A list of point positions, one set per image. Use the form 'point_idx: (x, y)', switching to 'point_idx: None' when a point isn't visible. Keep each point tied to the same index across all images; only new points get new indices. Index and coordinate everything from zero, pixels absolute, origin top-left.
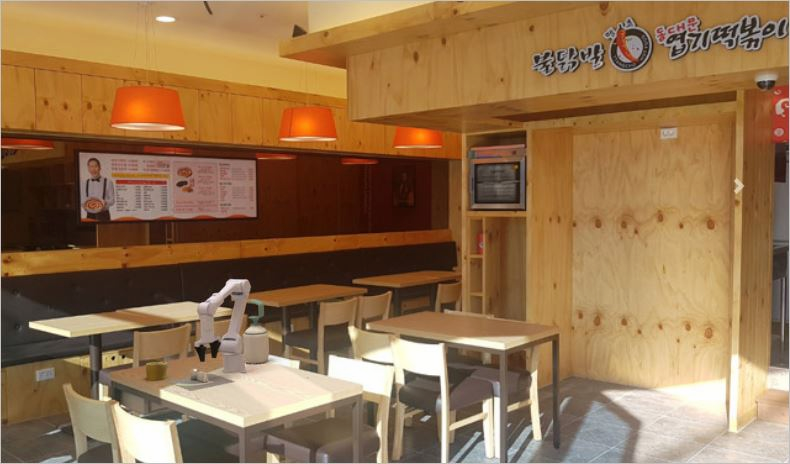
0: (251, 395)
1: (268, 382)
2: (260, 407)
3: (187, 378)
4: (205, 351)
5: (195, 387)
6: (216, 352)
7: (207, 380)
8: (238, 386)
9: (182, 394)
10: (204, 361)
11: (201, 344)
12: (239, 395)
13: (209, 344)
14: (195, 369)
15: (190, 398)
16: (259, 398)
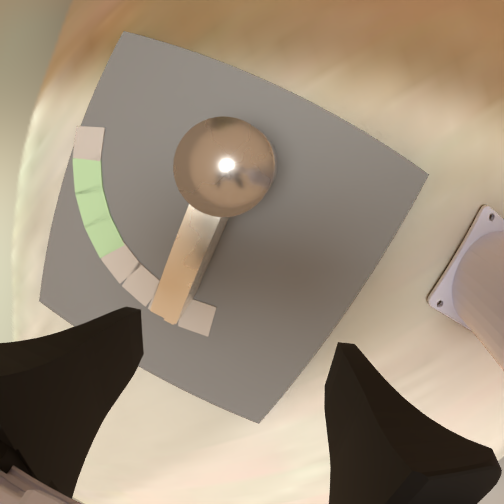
0: (145, 483)
1: (316, 489)
2: (88, 495)
3: (241, 85)
4: (87, 449)
5: (81, 290)
6: (330, 448)
7: (165, 319)
8: (223, 437)
9: (23, 268)
10: (140, 355)
11: (3, 481)
12: (125, 460)
13: (395, 456)
14: (204, 179)
15: (16, 330)
16: (135, 496)
